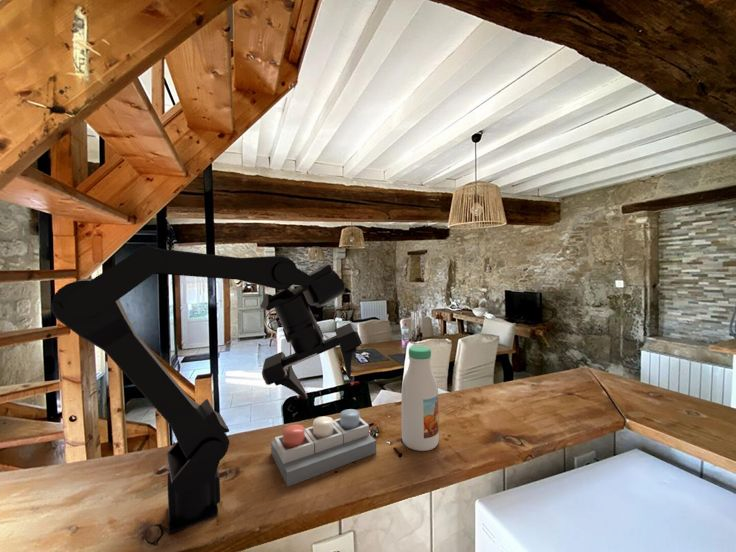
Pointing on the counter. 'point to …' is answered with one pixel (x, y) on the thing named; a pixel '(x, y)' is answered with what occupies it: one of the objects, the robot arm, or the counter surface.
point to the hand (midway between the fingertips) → (328, 388)
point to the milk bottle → (420, 402)
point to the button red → (293, 436)
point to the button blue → (349, 419)
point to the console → (322, 452)
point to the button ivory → (322, 427)
